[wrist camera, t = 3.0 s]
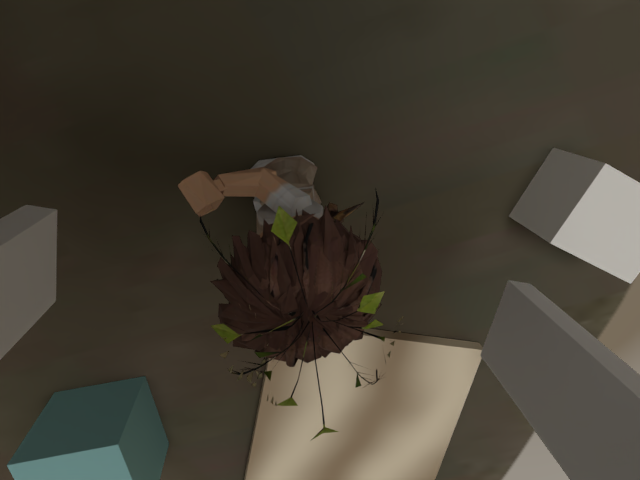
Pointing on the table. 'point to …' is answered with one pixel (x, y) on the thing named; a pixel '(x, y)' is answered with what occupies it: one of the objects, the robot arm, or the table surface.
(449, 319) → the table surface
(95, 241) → the table surface
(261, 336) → the toy
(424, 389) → the board
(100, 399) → the teal block
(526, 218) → the white block
